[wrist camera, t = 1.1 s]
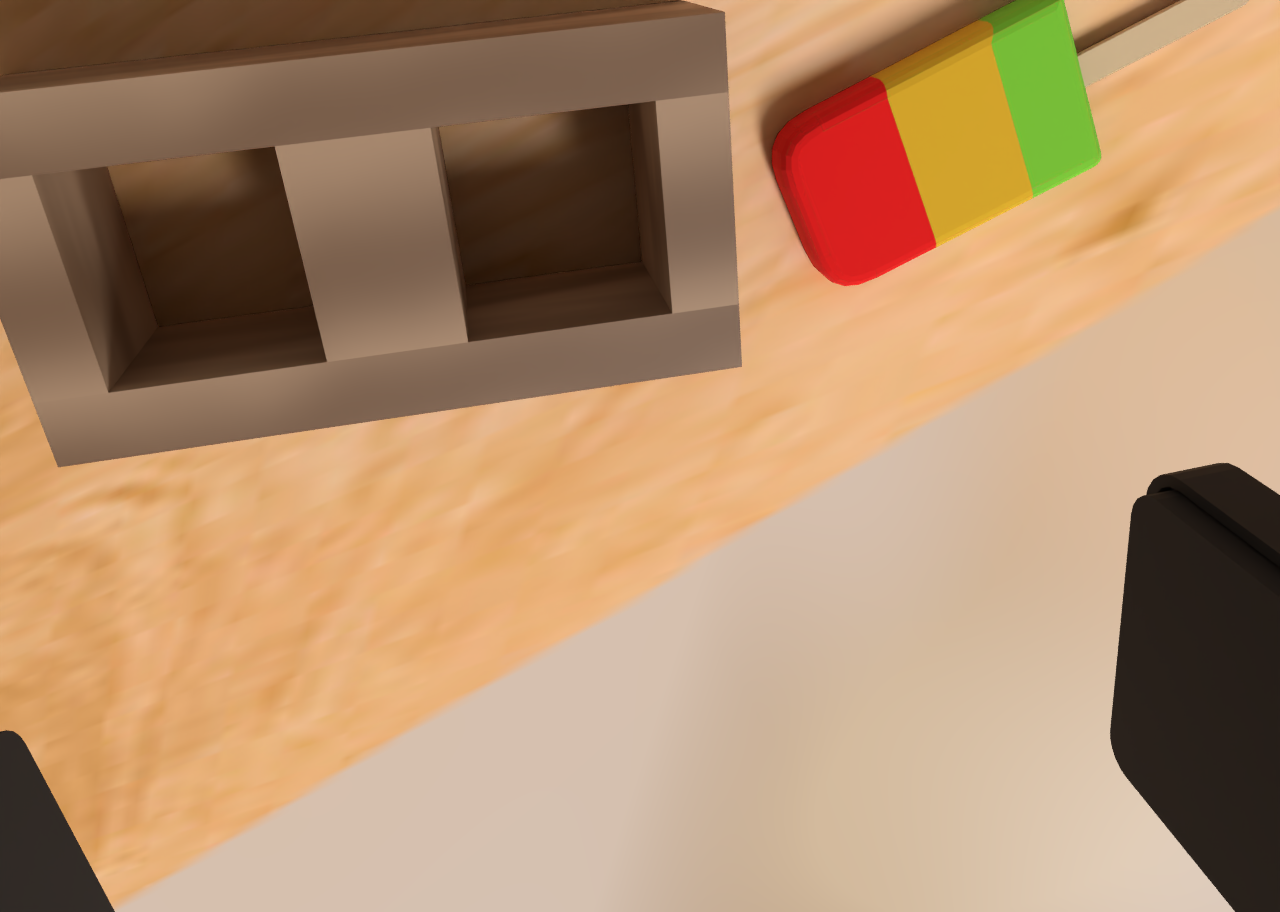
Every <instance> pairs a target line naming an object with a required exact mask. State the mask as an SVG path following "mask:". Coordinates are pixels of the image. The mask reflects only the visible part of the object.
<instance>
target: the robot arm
mask: <svg viewBox="0 0 1280 912" xmlns="http://www.w3.org/2000/svg"><path fill="white" fill-rule="evenodd" d="M1110 739H1111V744H1112V749H1113V752H1114V755H1115V758H1116V760H1117V762H1118V764H1119V766H1120V768H1121V770H1122V771H1123V773H1124V774H1125V776H1126V777H1127V779H1128V780H1129V781H1130V782H1131V784H1132V785H1133V786H1134V787H1135V788H1136V790H1137V791H1138V792H1139V793H1140V795H1141V796H1142V797H1143V798H1144V800H1145V801H1146V802H1147V803H1148V805H1149V806H1150V807H1151V808H1152V809H1153V811H1154V812H1155V813H1156V814H1157V815H1158V817H1159V818H1160V819H1161V821H1162V822H1163V823H1164V824H1165V826H1166V827H1167V828H1168V829H1169V830H1170V832H1171V833H1172V834H1173V835H1174V837H1175V838H1176V839H1177V840H1178V842H1179V843H1180V844H1181V845H1182V846H1183V848H1184V849H1185V850H1186V851H1187V853H1188V854H1189V855H1190V856H1191V857H1192V859H1193V860H1194V861H1195V863H1196V864H1197V865H1198V866H1199V867H1200V869H1201V870H1202V871H1203V872H1204V874H1205V875H1206V876H1207V877H1208V879H1209V880H1210V881H1211V882H1212V884H1213V885H1214V886H1215V887H1216V889H1217V890H1218V891H1219V892H1220V893H1221V895H1222V896H1223V897H1224V898H1225V900H1226V901H1227V902H1228V903H1229V905H1230V906H1231V907H1232V908H1233V910H1234V911H1235V912H1280V495H1279V494H1277V493H1276V492H1274V491H1273V490H1271V489H1270V488H1268V487H1267V486H1265V485H1264V484H1262V483H1261V482H1259V481H1258V480H1256V479H1255V478H1253V477H1252V476H1250V475H1249V474H1247V473H1246V472H1244V471H1243V470H1241V469H1240V468H1238V467H1236V466H1233V465H1231V464H1229V463H1217V464H1212V465H1207V466H1202V467H1197V468H1192V469H1188V470H1183V471H1178V472H1173V473H1168V474H1163V475H1160V476H1158V477H1157V478H1155V479H1153V481H1152V482H1151V484H1150V486H1149V487H1148V490H1147V495H1145V496H1142V497H1140V498H1138V499H1137V500H1136V502H1135V503H1134V505H1133V509H1132V513H1131V521H1130V532H1129V543H1128V553H1127V563H1126V573H1125V584H1124V594H1123V604H1122V614H1121V625H1120V635H1119V646H1118V656H1117V666H1116V677H1115V687H1114V697H1113V707H1112V718H1111V728H1110ZM0 912H115V911H114V909H113V908H112V906H111V904H110V902H109V900H108V898H107V896H106V894H105V892H104V891H103V889H102V887H101V885H100V883H99V881H98V879H97V877H96V875H95V874H94V872H93V870H92V868H91V866H90V864H89V862H88V860H87V859H86V857H85V855H84V853H83V851H82V849H81V847H80V845H79V843H78V842H77V840H76V838H75V836H74V834H73V832H72V830H71V828H70V827H69V825H68V823H67V821H66V819H65V817H64V815H63V813H62V811H61V810H60V808H59V806H58V804H57V802H56V800H55V798H54V796H53V795H52V793H51V791H50V789H49V787H48V785H47V783H46V781H45V779H44V778H43V776H42V774H41V772H40V770H39V768H38V766H37V764H36V763H35V761H34V759H33V757H32V755H31V753H30V751H29V749H28V747H27V746H26V744H25V742H24V741H23V740H22V738H21V737H20V736H19V735H18V734H16V733H15V732H14V731H7V730H6V731H1V732H0Z"/></svg>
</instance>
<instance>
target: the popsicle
mask: <svg viewBox="0 0 1280 912" xmlns="http://www.w3.org/2000/svg"><path fill="white" fill-rule="evenodd" d="M1248 1H1249V0H1180V1H1178V2H1176V3H1174V4H1172V5H1170V6H1168V7H1166V8H1164V9H1162V10H1160V11H1159V12H1157V13H1155V14H1153V15H1151V16H1149V17H1147V18H1145V19H1143V20H1141V21H1139V22H1137V23H1135V24H1133V25H1132V26H1130V27H1128V28H1126V29H1124V30H1122V31H1120V32H1118V33H1116V34H1114V35H1112V36H1110V37H1108V38H1106V39H1104V40H1103V41H1101V42H1099V43H1097V44H1095V45H1093V46H1091V47H1089V48H1087V49H1085V50H1083V51H1081V52H1079V53H1077V52H1076V48H1075V44H1074V40H1073V36H1072V32H1071V28H1070V24H1069V20H1068V16H1067V11H1066V7H1065V3H1064V0H1015V1H1013V2H1011V3H1009V4H1007V5H1005V6H1003V7H1002V8H1000V9H998V10H996V11H994V12H992V13H990V14H988V15H986V16H984V17H982V18H981V19H979V20H977V21H975V22H973V23H971V24H969V25H967V26H965V27H963V28H961V29H960V30H958V31H956V32H954V33H952V34H950V35H948V36H946V37H944V38H942V39H940V40H939V41H937V42H935V43H933V44H931V45H929V46H927V47H925V48H923V49H921V50H919V51H918V52H916V53H914V54H912V55H910V56H908V57H906V58H904V59H902V60H900V61H898V62H897V63H895V64H893V65H891V66H889V67H887V68H885V69H883V70H881V71H879V72H877V73H876V74H874V75H872V76H870V77H868V78H866V79H864V80H862V81H860V82H858V83H856V84H855V85H853V86H851V87H849V88H847V89H845V90H843V91H841V92H839V93H837V94H836V95H834V96H832V97H830V98H828V99H826V100H824V101H822V102H820V103H818V104H816V105H815V106H813V107H811V108H809V109H807V110H805V111H803V112H802V113H800V114H799V115H797V116H796V117H794V118H793V119H791V120H790V121H788V122H787V124H786V125H785V126H784V127H783V128H782V129H781V131H780V132H779V133H778V134H777V137H776V139H775V142H774V145H773V147H772V166H773V170H774V173H775V177H776V180H777V183H778V186H779V188H780V191H781V193H782V195H783V198H784V200H785V203H786V205H787V208H788V210H789V213H790V215H791V218H792V220H793V222H794V225H795V227H796V230H797V232H798V235H799V237H800V240H801V242H802V245H803V247H804V249H805V252H806V253H807V255H808V257H809V259H810V261H811V263H812V264H813V266H814V267H815V268H816V269H817V270H818V271H819V272H821V273H822V274H823V275H824V276H825V277H826V278H827V279H828V280H830V281H831V282H834V283H837V284H840V285H843V286H849V285H859V284H861V283H864V282H867V281H869V280H872V279H874V278H877V277H879V276H881V275H883V274H885V273H887V272H889V271H891V270H892V269H894V268H896V267H898V266H900V265H902V264H904V263H906V262H908V261H910V260H912V259H914V258H916V257H918V256H920V255H922V254H924V253H926V252H928V251H930V250H932V249H934V248H936V247H938V246H940V245H942V244H944V243H945V242H947V241H949V240H951V239H953V238H955V237H957V236H959V235H961V234H963V233H965V232H967V231H969V230H971V229H973V228H975V227H977V226H979V225H981V224H983V223H985V222H987V221H989V220H991V219H993V218H995V217H996V216H998V215H1000V214H1002V213H1004V212H1006V211H1008V210H1010V209H1012V208H1014V207H1016V206H1018V205H1020V204H1022V203H1024V202H1026V201H1028V200H1030V199H1032V198H1034V197H1036V196H1038V195H1040V194H1042V193H1044V192H1045V191H1047V190H1049V189H1051V188H1053V187H1055V186H1057V185H1059V184H1061V183H1063V182H1065V181H1067V180H1069V179H1071V178H1073V177H1075V176H1077V175H1079V174H1081V173H1083V172H1085V171H1087V170H1089V169H1091V168H1093V167H1094V166H1096V165H1097V164H1098V163H1099V162H1100V159H1101V151H1100V147H1099V143H1098V139H1097V135H1096V131H1095V126H1094V122H1093V118H1092V114H1091V110H1090V106H1089V102H1088V98H1087V94H1086V89H1085V87H1087V86H1089V85H1091V84H1093V83H1095V82H1097V81H1098V80H1100V79H1102V78H1104V77H1106V76H1108V75H1110V74H1112V73H1114V72H1116V71H1118V70H1120V69H1122V68H1124V67H1126V66H1128V65H1130V64H1131V63H1133V62H1135V61H1137V60H1139V59H1141V58H1143V57H1145V56H1147V55H1149V54H1151V53H1153V52H1155V51H1157V50H1159V49H1161V48H1163V47H1164V46H1166V45H1168V44H1170V43H1172V42H1174V41H1176V40H1178V39H1180V38H1182V37H1184V36H1186V35H1188V34H1190V33H1192V32H1194V31H1195V30H1197V29H1199V28H1201V27H1203V26H1205V25H1207V24H1209V23H1211V22H1213V21H1215V20H1217V19H1219V18H1221V17H1223V16H1225V15H1227V14H1228V13H1230V12H1232V11H1234V10H1236V9H1238V8H1240V7H1242V6H1243V5H1245V4H1246V3H1247V2H1248ZM996 63H997V64H996ZM1018 141H1019V142H1018ZM817 221H818V222H817ZM814 247H815V248H814ZM816 252H817V253H816ZM818 257H819V258H818Z"/></svg>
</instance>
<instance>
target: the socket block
mask: <svg viewBox="0 0 1280 912" xmlns="http://www.w3.org/2000/svg"><path fill="white" fill-rule="evenodd" d="M625 104H628V114H629V125H630V136H631V147H632V158H633V169H634V180H635V190H636V201H637V212H638V223H639V234H640V245H641V256H642V262H635V263H627V264H620V265H612V266H605V267H598V268H590V269H583V270H575V271H568V272H561V273H553V274H546V275H538V276H531V277H524V278H516V279H509V280H501V281H494V282H487V283H479V284H472V285H466V284H465V278H464V272H463V266H462V261H461V255H460V249H459V243H458V237H457V232H456V226H455V220H454V214H453V208H452V203H451V197H450V191H449V185H448V179H447V173H446V168H445V162H444V156H443V150H442V144H441V139H440V133H439V127H441V126H449V125H458V124H466V123H474V122H483V121H491V120H500V119H508V118H516V117H525V116H533V115H542V114H550V113H558V112H567V111H575V110H583V109H592V108H600V107H609V106H617V105H625ZM273 146H275V150H276V154H277V158H278V162H279V166H280V171H281V175H282V179H283V183H284V187H285V191H286V195H287V199H288V203H289V207H290V212H291V216H292V220H293V224H294V228H295V232H296V236H297V240H298V244H299V248H300V253H301V257H302V261H303V265H304V269H305V273H306V277H307V281H308V285H309V289H310V294H311V298H312V302H313V306H309V307H302V308H294V309H287V310H280V311H272V312H265V313H257V314H250V315H243V316H235V317H228V318H220V319H213V320H206V321H198V322H191V323H183V324H176V325H169V326H161V327H158V325H157V322H156V319H155V316H154V313H153V310H152V307H151V303H150V300H149V297H148V294H147V291H146V288H145V285H144V281H143V278H142V275H141V272H140V269H139V266H138V263H137V259H136V256H135V253H134V250H133V247H132V244H131V241H130V237H129V234H128V231H127V228H126V225H125V222H124V219H123V215H122V212H121V209H120V206H119V203H118V200H117V197H116V193H115V190H114V187H113V184H112V181H111V178H110V175H109V171H108V168H107V166H114V165H123V164H131V163H139V162H148V161H156V160H165V159H173V158H181V157H190V156H198V155H206V154H215V153H223V152H232V151H240V150H248V149H257V148H265V147H273ZM0 319H1V322H2V324H3V327H4V329H5V332H6V334H7V337H8V340H9V342H10V345H11V347H12V350H13V352H14V355H15V358H16V360H17V363H18V365H19V368H20V370H21V373H22V375H23V378H24V381H25V383H26V386H27V388H28V391H29V393H30V396H31V399H32V401H33V404H34V406H35V409H36V411H37V414H38V417H39V419H40V422H41V424H42V427H43V429H44V432H45V434H46V437H47V440H48V442H49V445H50V447H51V450H52V452H53V455H54V458H55V460H56V463H57V465H58V467H63V466H70V465H77V464H84V463H91V462H97V461H104V460H111V459H118V458H125V457H131V456H138V455H145V454H152V453H159V452H165V451H172V450H179V449H186V448H193V447H199V446H206V445H213V444H220V443H227V442H233V441H240V440H247V439H254V438H261V437H267V436H274V435H281V434H288V433H295V432H301V431H308V430H315V429H322V428H329V427H335V426H342V425H349V424H356V423H363V422H369V421H376V420H383V419H390V418H397V417H403V416H410V415H417V414H424V413H431V412H437V411H444V410H451V409H458V408H465V407H471V406H478V405H485V404H492V403H499V402H505V401H512V400H519V399H526V398H533V397H539V396H546V395H553V394H560V393H567V392H573V391H580V390H587V389H594V388H601V387H607V386H614V385H621V384H628V383H635V382H641V381H648V380H655V379H662V378H669V377H675V376H682V375H689V374H696V373H703V372H709V371H716V370H723V369H730V368H737V367H742V359H741V339H740V318H739V298H738V277H737V257H736V236H735V216H734V195H733V174H732V154H731V133H730V113H729V92H728V72H727V51H726V31H725V12H723V11H719V10H715V9H712V8H708V7H704V6H701V5H697V4H694V3H690V2H686V1H674V2H665V3H656V4H647V5H637V6H628V7H619V8H610V9H601V10H592V11H583V12H574V13H565V14H555V15H546V16H537V17H528V18H519V19H510V20H501V21H492V22H483V23H473V24H464V25H455V26H446V27H437V28H428V29H419V30H410V31H400V32H391V33H382V34H373V35H364V36H355V37H346V38H337V39H328V40H318V41H309V42H300V43H291V44H282V45H273V46H264V47H255V48H245V49H236V50H227V51H218V52H209V53H200V54H191V55H182V56H173V57H163V58H154V59H145V60H136V61H127V62H118V63H109V64H100V65H91V66H81V67H72V68H63V69H54V70H45V71H36V72H27V73H18V74H8V75H2V76H0Z"/></svg>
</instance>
